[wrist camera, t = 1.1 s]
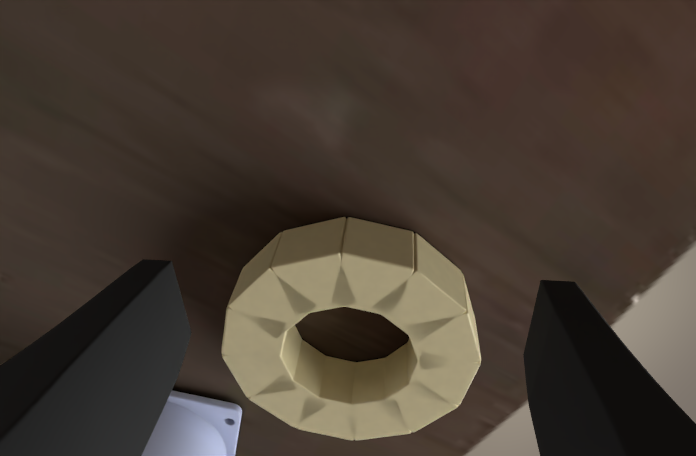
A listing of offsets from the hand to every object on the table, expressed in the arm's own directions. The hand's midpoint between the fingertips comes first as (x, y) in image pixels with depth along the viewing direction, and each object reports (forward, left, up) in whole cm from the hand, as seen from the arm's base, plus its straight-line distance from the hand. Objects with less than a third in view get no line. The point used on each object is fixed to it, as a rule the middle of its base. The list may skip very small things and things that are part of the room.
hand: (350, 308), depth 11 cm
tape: (-9, -1, -9) cm, 13 cm away
